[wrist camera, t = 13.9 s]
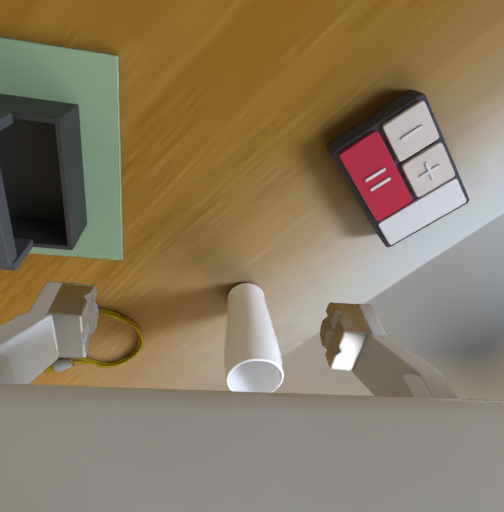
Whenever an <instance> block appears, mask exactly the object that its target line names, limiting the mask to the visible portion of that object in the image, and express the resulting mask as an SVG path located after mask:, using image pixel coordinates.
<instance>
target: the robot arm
mask: <svg viewBox="0 0 504 512" xmlns="http://www.w3.org/2000/svg"><path fill="white" fill-rule="evenodd" d="M97 295H98V294H97V287H96V286H95V285H85V284H74V283H62V282H50V281H48V282H47V283H46V284H45V285H44V286H43V288H42V290H41V292H40V293H39V295H38V297H37V298H36V300H35V302H34V303H33V305H32V307H31V309H30V310H29V312H28V313H22V314H21V315H19V316H17V317H15V318H13V319H11V320H10V321H8V322H6V323H4V324H2V325H0V512H504V401H502V400H473V399H459V398H458V396H457V395H456V393H455V392H454V390H453V388H452V387H451V385H450V383H449V382H448V380H447V378H446V377H445V375H444V374H442V373H441V372H440V371H438V370H437V369H436V368H434V367H433V366H432V365H430V364H429V363H427V362H426V361H425V360H423V359H422V358H421V357H419V356H418V355H417V354H415V353H414V352H412V351H411V350H410V349H408V348H407V347H406V346H404V345H403V344H402V343H400V342H398V341H397V340H396V339H394V338H393V337H392V336H391V335H386V333H385V331H384V329H383V327H382V325H381V324H380V321H379V320H378V318H377V316H376V314H375V312H374V310H373V308H372V307H371V306H370V305H369V304H345V303H329V305H328V307H327V309H326V312H327V315H328V316H327V317H326V318H325V319H324V320H323V321H322V325H321V331H320V336H321V342H322V345H323V346H324V347H325V348H326V349H327V352H326V354H325V355H326V358H327V361H328V364H329V368H330V369H337V370H351V371H353V373H354V374H355V375H356V376H357V377H358V378H359V379H360V381H361V382H362V383H363V384H364V385H365V386H366V387H367V388H368V389H369V390H370V391H371V392H372V393H373V394H374V396H354V395H323V394H295V393H268V392H238V391H207V390H177V389H148V388H119V387H90V386H61V385H32V384H29V383H30V382H31V381H33V380H34V379H35V378H36V377H37V376H39V375H40V374H41V373H42V372H43V371H44V370H46V369H47V368H48V367H49V366H50V365H51V364H53V363H54V362H55V361H56V360H57V359H58V358H86V356H87V353H88V350H89V347H90V345H91V335H92V334H94V333H95V330H96V327H97V322H98V313H99V309H98V305H97V304H96V303H95V301H96V298H97Z"/></svg>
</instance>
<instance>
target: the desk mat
mask: <svg viewBox="0 0 504 512" xmlns="http://www.w3.org/2000/svg"><path fill="white" fill-rule="evenodd" d="M0 94H7V95H14V96H21V97H28V98H35V99H43V100H50V101H57V102H64V103H72V104H78V105H79V118H80V132H81V145H82V159H83V173H84V186H85V200H86V213H87V225H86V227H85V229H84V231H83V233H82V234H81V236H80V238H79V240H78V242H77V243H76V245H75V247H74V249H73V250H63V249H51V248H39V247H33V248H32V249H31V251H30V252H29V253H35V254H48V255H61V256H73V257H86V258H99V259H111V260H122V259H123V230H122V188H121V146H120V104H119V62H118V55H114V54H108V53H101V52H95V51H89V50H82V49H76V48H69V47H63V46H57V45H50V44H44V43H37V42H31V41H25V40H18V39H12V38H5V37H0Z"/></svg>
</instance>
